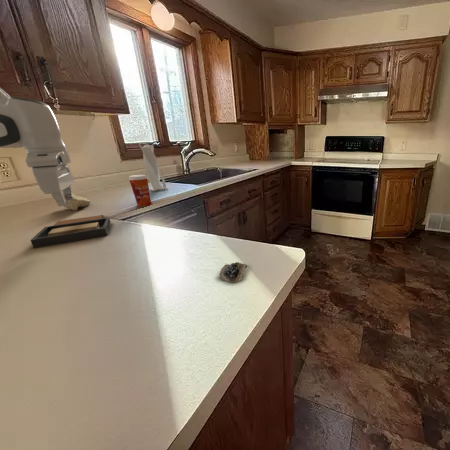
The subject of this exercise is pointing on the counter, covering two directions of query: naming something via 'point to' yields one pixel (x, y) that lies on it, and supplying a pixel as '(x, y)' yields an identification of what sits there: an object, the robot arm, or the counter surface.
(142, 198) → the paper cup
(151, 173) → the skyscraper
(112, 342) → the counter surface
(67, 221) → the brown flat block
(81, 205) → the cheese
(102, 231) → the tray
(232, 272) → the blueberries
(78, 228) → the board
